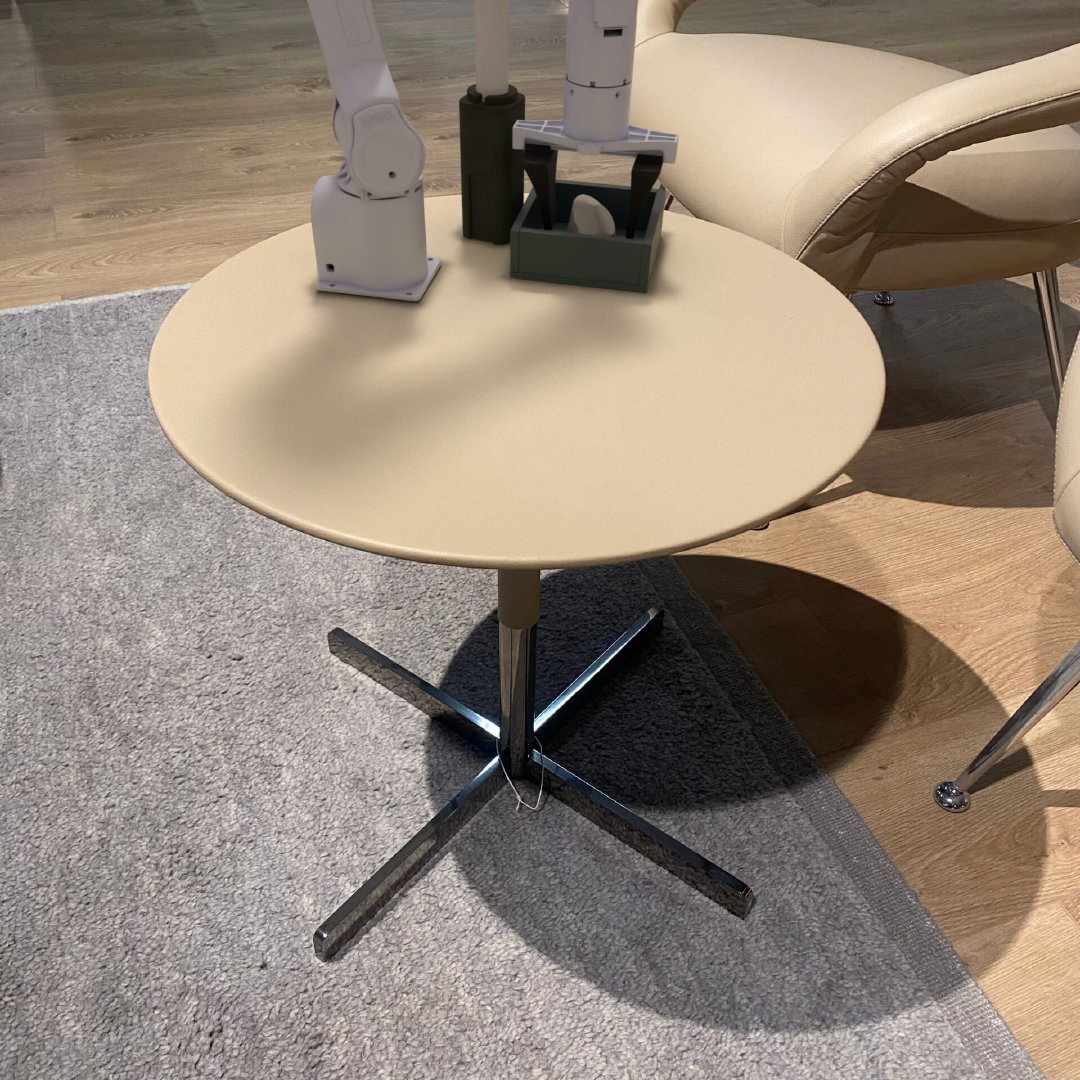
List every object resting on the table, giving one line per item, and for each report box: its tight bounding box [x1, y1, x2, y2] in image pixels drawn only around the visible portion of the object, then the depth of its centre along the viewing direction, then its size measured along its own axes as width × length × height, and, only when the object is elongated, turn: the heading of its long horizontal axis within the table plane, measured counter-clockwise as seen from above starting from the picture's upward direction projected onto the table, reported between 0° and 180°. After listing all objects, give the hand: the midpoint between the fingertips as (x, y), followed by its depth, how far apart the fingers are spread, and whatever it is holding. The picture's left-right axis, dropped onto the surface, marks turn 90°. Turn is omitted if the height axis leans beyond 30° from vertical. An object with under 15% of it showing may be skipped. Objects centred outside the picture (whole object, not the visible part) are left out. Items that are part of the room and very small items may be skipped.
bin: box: [509, 178, 667, 293], centre depth 96 cm, size 13×13×5 cm
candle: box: [458, 0, 526, 246], centre depth 92 cm, size 5×5×25 cm
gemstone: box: [567, 195, 616, 237], centre depth 96 cm, size 6×6×5 cm
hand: (589, 230), depth 95 cm, fingers open, 7 cm apart
